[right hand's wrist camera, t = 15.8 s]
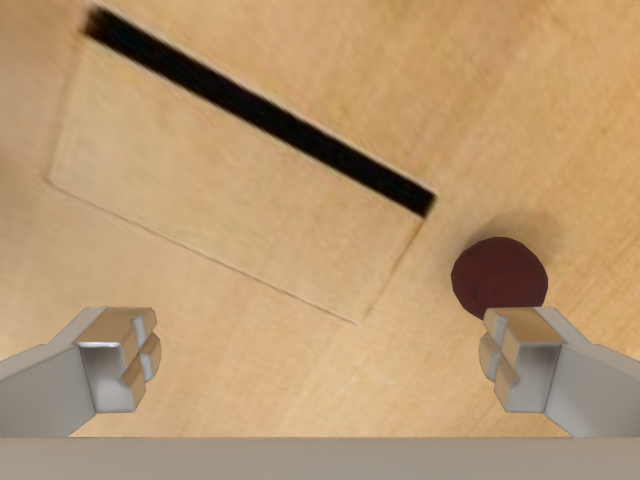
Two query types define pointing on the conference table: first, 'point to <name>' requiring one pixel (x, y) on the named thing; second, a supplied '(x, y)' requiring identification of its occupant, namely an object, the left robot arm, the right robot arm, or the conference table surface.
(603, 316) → the conference table surface
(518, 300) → the potato
